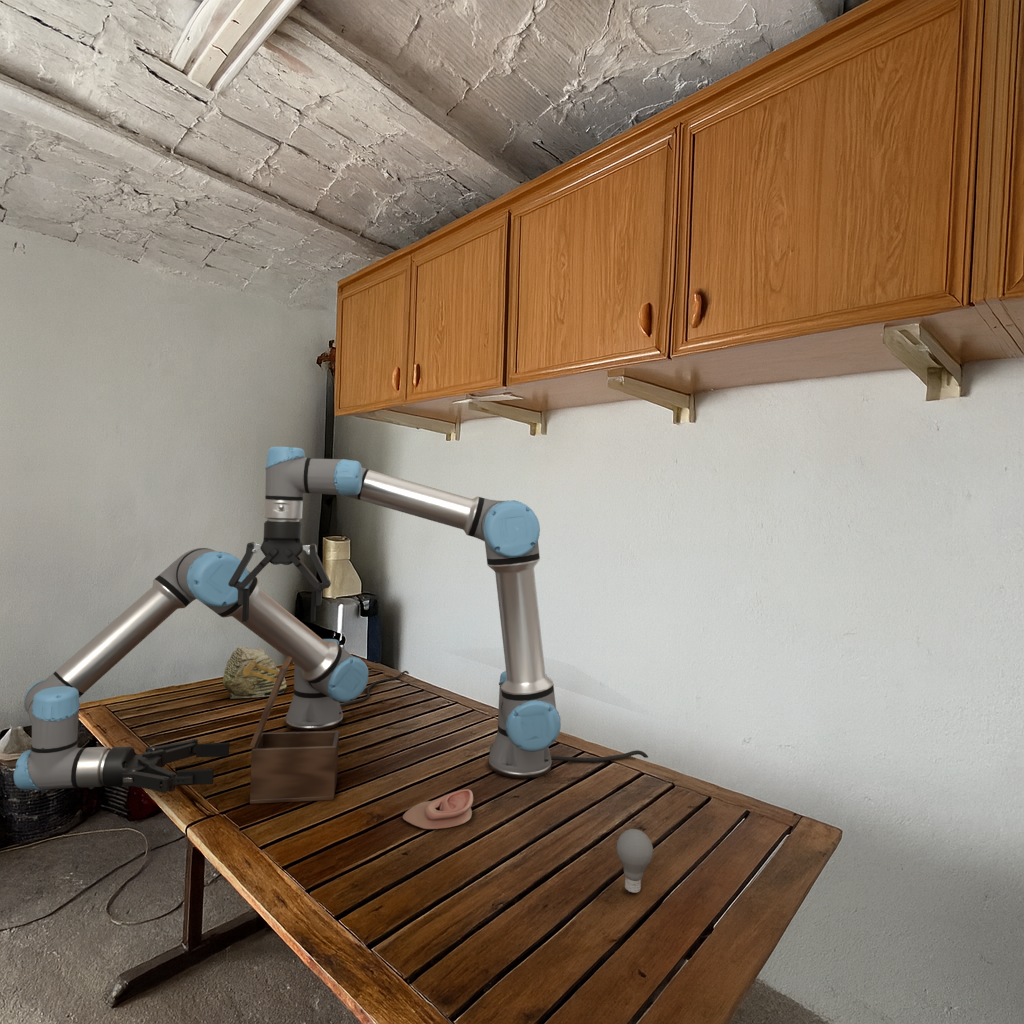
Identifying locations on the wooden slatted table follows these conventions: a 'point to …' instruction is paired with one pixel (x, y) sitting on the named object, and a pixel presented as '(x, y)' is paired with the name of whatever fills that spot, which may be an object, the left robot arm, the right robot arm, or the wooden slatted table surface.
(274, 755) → the chest
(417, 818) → the anatomical model
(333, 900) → the wooden slatted table surface
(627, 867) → the light bulb
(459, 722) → the wooden slatted table surface
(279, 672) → the lid
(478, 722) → the wooden slatted table surface
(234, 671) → the fossil
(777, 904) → the wooden slatted table surface
